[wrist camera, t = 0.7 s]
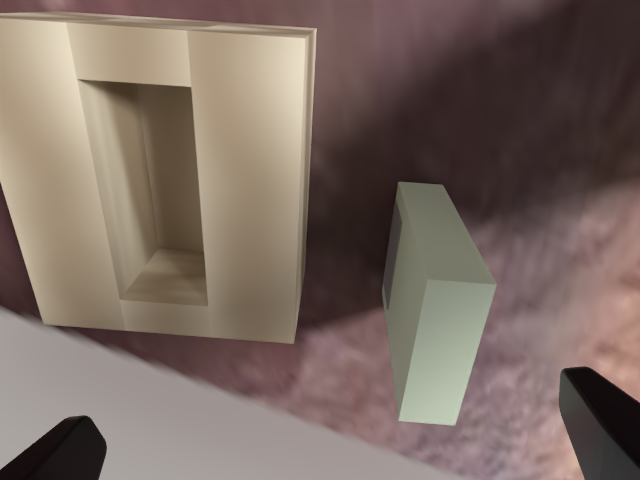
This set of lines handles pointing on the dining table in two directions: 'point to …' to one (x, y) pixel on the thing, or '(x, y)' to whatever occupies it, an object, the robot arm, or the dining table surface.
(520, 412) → the dining table surface
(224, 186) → the hollow square frame
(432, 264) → the green rectangular block
